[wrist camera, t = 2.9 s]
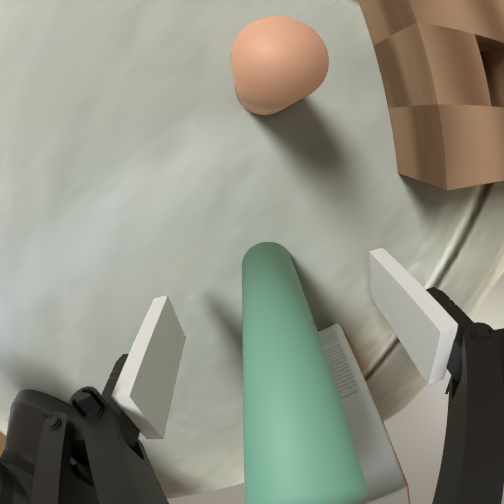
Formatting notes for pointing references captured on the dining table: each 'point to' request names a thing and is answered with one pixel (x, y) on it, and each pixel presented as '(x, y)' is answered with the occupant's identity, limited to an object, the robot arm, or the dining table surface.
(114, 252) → the dining table surface
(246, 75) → the short dowel
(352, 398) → the small box
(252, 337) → the long dowel
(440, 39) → the collar block
